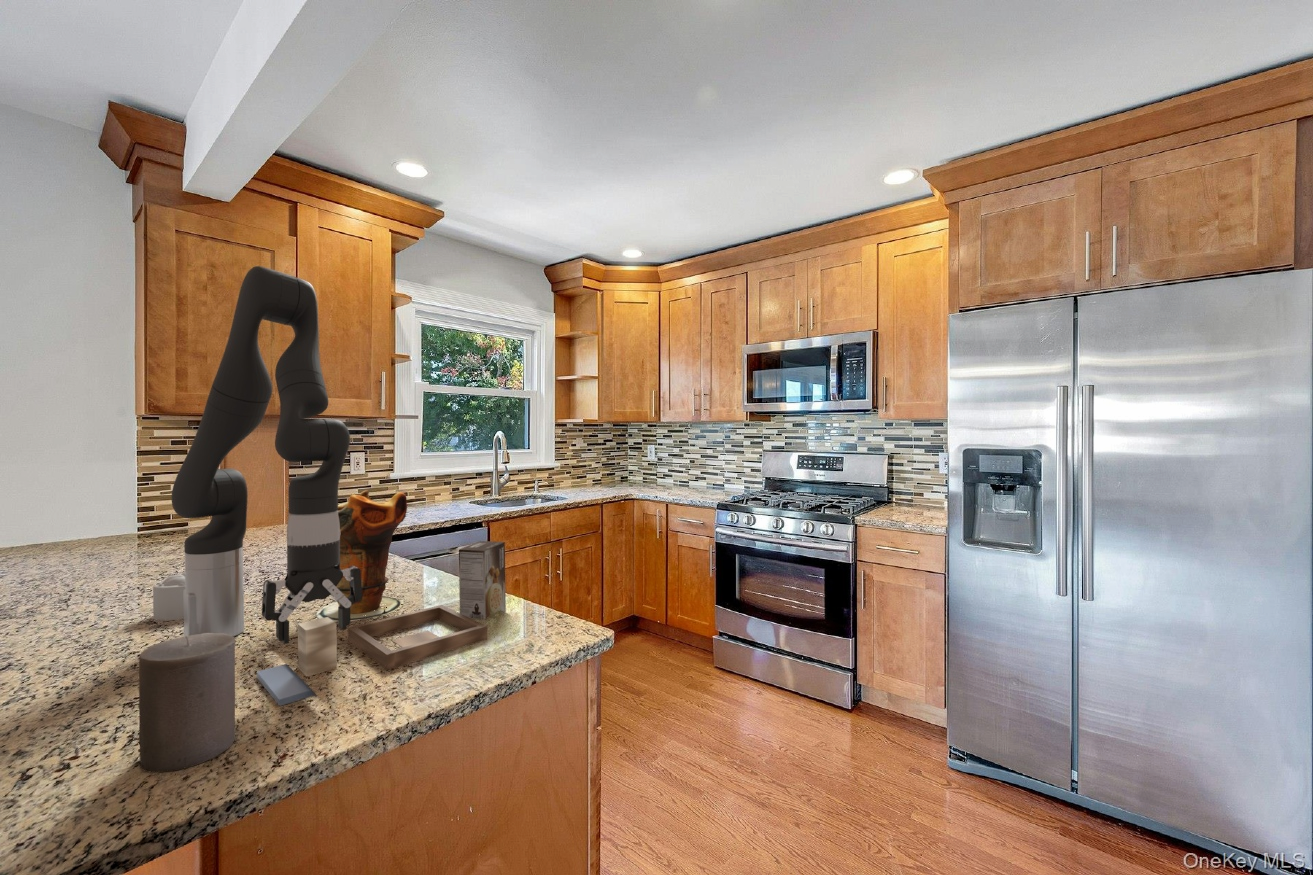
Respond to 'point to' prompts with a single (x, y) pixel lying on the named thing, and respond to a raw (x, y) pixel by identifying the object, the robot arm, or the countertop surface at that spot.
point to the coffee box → (482, 579)
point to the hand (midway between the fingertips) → (314, 635)
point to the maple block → (317, 646)
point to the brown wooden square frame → (416, 636)
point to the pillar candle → (186, 701)
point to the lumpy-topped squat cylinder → (169, 598)
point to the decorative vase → (367, 552)
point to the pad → (284, 684)
